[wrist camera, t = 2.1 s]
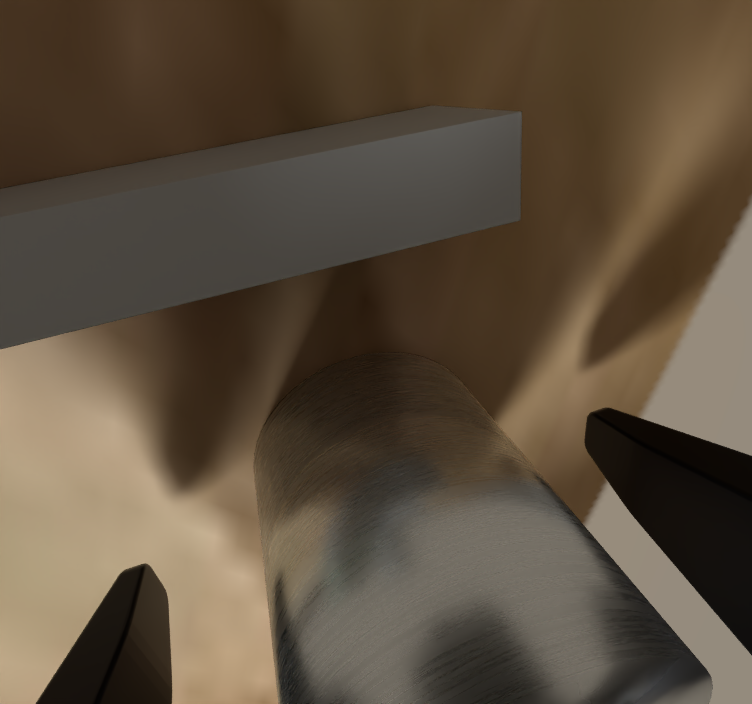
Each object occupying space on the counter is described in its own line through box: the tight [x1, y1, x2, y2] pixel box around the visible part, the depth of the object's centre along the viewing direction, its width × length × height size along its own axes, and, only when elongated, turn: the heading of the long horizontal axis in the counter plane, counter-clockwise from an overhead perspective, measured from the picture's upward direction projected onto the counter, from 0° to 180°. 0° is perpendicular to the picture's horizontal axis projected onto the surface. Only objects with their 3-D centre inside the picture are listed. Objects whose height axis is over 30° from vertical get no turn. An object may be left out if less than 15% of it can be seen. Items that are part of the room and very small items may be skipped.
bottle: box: [253, 352, 713, 704], centre depth 7 cm, size 5×5×7 cm
